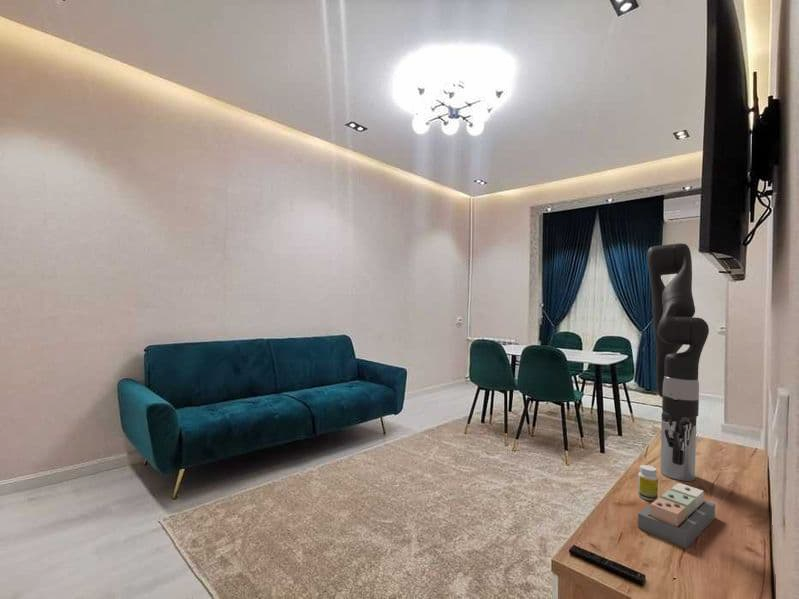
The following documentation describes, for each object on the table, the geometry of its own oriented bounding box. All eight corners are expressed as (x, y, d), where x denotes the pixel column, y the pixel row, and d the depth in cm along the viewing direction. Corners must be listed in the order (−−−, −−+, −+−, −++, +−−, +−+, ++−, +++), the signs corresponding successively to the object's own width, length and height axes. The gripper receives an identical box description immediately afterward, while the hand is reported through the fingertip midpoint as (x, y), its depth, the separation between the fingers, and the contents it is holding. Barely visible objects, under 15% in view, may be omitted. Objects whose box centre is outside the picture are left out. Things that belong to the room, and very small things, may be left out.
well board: (670, 501, 111) (670, 488, 111) (714, 517, 103) (715, 504, 103) (637, 527, 97) (638, 513, 97) (686, 548, 89) (686, 532, 89)
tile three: (659, 509, 99) (659, 496, 100) (685, 519, 95) (685, 505, 95) (650, 516, 96) (650, 502, 96) (677, 527, 92) (677, 512, 92)
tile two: (669, 501, 104) (669, 488, 104) (694, 510, 99) (695, 497, 99) (661, 507, 100) (661, 494, 100) (687, 517, 96) (687, 503, 96)
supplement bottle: (660, 502, 110) (661, 472, 110) (641, 500, 111) (642, 470, 111) (652, 494, 115) (653, 465, 115) (635, 492, 116) (635, 463, 116)
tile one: (678, 493, 108) (678, 481, 108) (703, 502, 104) (703, 489, 104) (671, 499, 105) (671, 487, 105) (696, 508, 100) (696, 495, 100)
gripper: (672, 389, 107) (670, 453, 107) (653, 395, 99) (651, 464, 99) (706, 395, 101) (704, 462, 101) (689, 402, 93) (687, 475, 93)
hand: (678, 463), depth 100 cm, fingers closed
